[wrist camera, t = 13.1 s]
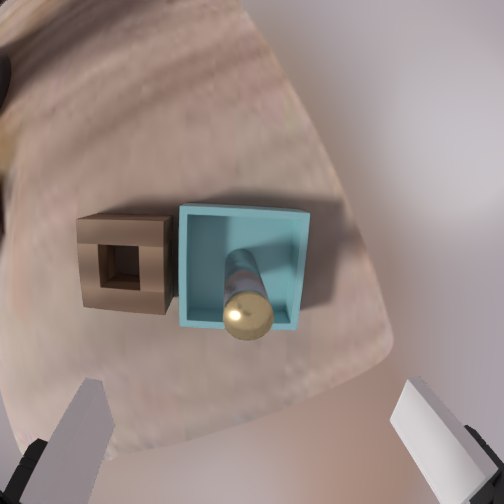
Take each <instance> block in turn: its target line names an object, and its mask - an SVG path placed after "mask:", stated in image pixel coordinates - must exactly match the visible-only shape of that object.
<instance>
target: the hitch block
mask: <svg viewBox="0 0 504 504" xmlns="http://www.w3.org/2000/svg"><path fill="white" fill-rule="evenodd" d="M76 227H77V248H78V262H79V273H80V282H81V291H82V299H83V306H84V307H89V308H97V309H105V310H114V311H124V312H134V313H145V314H157V315H165V314H166V312H167V310H168V307H169V305H170V303H171V301H172V299H173V278H172V235H173V216H171V215H134V214H93V215H90V216H86V217H82V218H79V219H76ZM114 245H125V246H139V270H140V276H139V275H124V274H116V268H115V248H114Z"/></svg>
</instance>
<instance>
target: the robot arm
mask: <svg viewBox="0 0 504 504" xmlns="http://www.w3.org/2000/svg"><path fill="white" fill-rule="evenodd" d="M5 1H6V0H0V7H1V5H2V4H3V3H4V2H5ZM9 80H10V62H9V59H8V57H7V56H6V55H5V54H3V53H1V52H0V107H1V105H2V103H3V100H4V98H5V95H6V92H7V89H8V85H9ZM390 422H391V424H392V425H393V427H394V429H395V430H396V432H397V433H398V435H399V437H400V438H401V440H402V441H403V443H404V444H405V446H406V448H407V449H408V451H409V453H410V454H411V456H412V457H413V459H414V461H415V462H416V464H417V465H418V467H419V469H420V470H421V472H422V473H423V475H424V477H425V479H426V480H427V482H428V484H429V485H430V487H431V489H432V490H433V492H434V493H435V495H436V497H437V498H438V500H439V502H440V503H441V504H466V503H467V502H468V501H470V503H471V504H504V463H503V462H502V461H501V460H500V459H499V458H498V456H497V455H496V454H495V453H494V451H493V450H492V449H491V448H490V447H489V445H486V442H485V441H484V440H483V439H482V437H481V436H480V435H479V434H478V433H477V431H476V430H474V429H473V428H471V427H469V426H468V425H465V426H463V425H462V424H461V423H460V421H459V420H458V419H457V418H456V417H455V416H454V414H453V413H452V412H451V411H450V410H449V409H448V407H447V406H446V405H445V404H444V403H443V402H442V401H441V400H440V398H439V397H438V396H437V395H436V394H435V393H434V391H433V390H432V389H431V388H430V387H429V386H428V385H427V384H426V383H425V382H424V380H423V379H422V378H421V377H420V376H419V377H414V378H410V379H407V381H406V384H405V386H404V389H403V392H402V394H401V396H400V398H399V401H398V403H397V405H396V407H395V410H394V412H393V414H392V416H391V418H390ZM114 427H115V424H114V421H113V418H112V415H111V411H110V408H109V405H108V401H107V398H106V394H105V391H104V387H103V383H102V381H100V380H95V379H90V378H85V380H84V381H83V383H82V385H81V386H80V388H79V390H78V391H77V393H76V395H75V396H74V398H73V400H72V401H71V403H70V405H69V406H68V408H67V410H66V412H65V413H64V415H63V417H62V419H61V420H60V422H59V424H58V426H57V427H56V429H55V431H54V433H53V435H52V436H51V438H50V440H49V442H47V441H44V440H41V439H39V438H38V439H37V440H36V441H34V442H33V443H32V444H30V445H29V446H28V448H27V450H26V452H25V453H24V455H23V456H24V457H23V458H22V459H21V461H20V463H19V465H18V466H17V468H16V470H15V472H14V474H13V475H12V478H11V479H10V481H9V483H8V485H7V487H6V489H5V491H4V492H3V493H2V491H1V490H0V504H88V501H89V498H90V495H91V492H92V489H93V486H94V483H95V480H96V477H97V474H98V471H99V468H100V465H101V462H102V460H103V457H104V454H105V451H106V448H107V446H108V443H109V440H110V437H111V435H112V432H113V429H114Z"/></svg>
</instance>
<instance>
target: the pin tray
mask: <svg viewBox="0 0 504 504" xmlns="http://www.w3.org/2000/svg"><path fill="white" fill-rule="evenodd" d="M309 222H310V213H308V212H306V211H303V210H301V209H290V208H276V207H261V206H245V205H226V204H203V203H185V204H183V205H181V206H180V212H179V318H180V326H183V327H200V328H220V329H226V328H225V326H224V323H223V302H224V272H225V260H226V257H227V255H228V254H229V253H230V252H231V251H233V250H236V249H245V250H248V251H249V252H251V253H252V254H253V256H254V258H255V260H256V263H257V266H258V269H259V272H260V275H261V278H262V281H263V284H264V287H265V289H266V292H267V295H268V298H269V301H270V304H271V307H272V310H273V313H274V321H273V325H272V327H271V329H270V330H297V324H298V317H299V310H300V302H301V295H302V287H303V278H304V270H305V261H306V252H307V243H308V233H309Z"/></svg>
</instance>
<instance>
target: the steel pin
mask: <svg viewBox="0 0 504 504" xmlns="http://www.w3.org/2000/svg"><path fill="white" fill-rule="evenodd" d="M273 321H274V313H273V310H272V307H271V304H270V301H269V298H268V295H267V292H266V289H265V287H264V284H263V281H262V278H261V275H260V272H259V269H258V266H257V263H256V260H255V258H254V256H253V254H252V253H251V252H249V251H248V250H245V249H236V250H233V251H231V252H230V253H229V254H228V255H227V257H226V260H225V272H224V302H223V323H224V326H225V328H226V330H227V331H228V332H229V333H230V334H231V335H232V336H233V337H235V338H237V339H240V340H255V339H258V338H260V337H262V336H264V335H265V334H266V333H267V332H268V331H269V330H270V329H271V327H272V325H273Z"/></svg>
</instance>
